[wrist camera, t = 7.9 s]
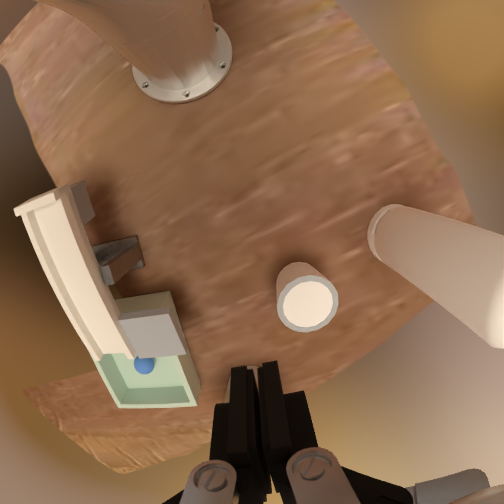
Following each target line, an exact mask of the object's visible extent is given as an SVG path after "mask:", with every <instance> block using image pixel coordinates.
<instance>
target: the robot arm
mask: <svg viewBox="0 0 504 504" xmlns="http://www.w3.org/2000/svg"><path fill="white" fill-rule="evenodd" d="M34 1H37V2H41V3H44V4H47V5H50V6H53V7H56V8H59V9H61V10H63V11H65V12H67V13H69V14H71V15H72V16H74V17H76V18H77V19H79V20H80V21H82V22H83V23H84V24H85V25H87V26H88V27H89V28H91V29H92V30H93V31H94V32H95V33H97V34H98V35H99V36H100V37H101V38H102V39H104V40H105V41H106V42H107V43H108V44H109V45H110V46H112V47H113V48H114V49H115V50H116V51H117V52H119V53H120V54H121V55H122V56H123V57H124V58H125V59H127V60H128V61H129V62H130V63H131V64H132V73H133V77H134V80H135V82H136V84H137V85H138V87H139V88H140V89H141V90H142V91H143V92H144V93H145V94H146V95H148V96H150V97H151V98H153V99H155V100H157V101H160V102H164V103H171V104H176V103H186V102H190V101H194V100H196V99H199V98H201V97H203V96H205V95H207V94H208V93H210V92H211V91H213V90H214V89H215V88H216V87H217V86H218V85H219V84H220V83H221V82H222V81H223V80H224V78H225V77H226V75H227V73H228V72H229V69H230V66H231V64H232V57H233V52H232V45H231V40H230V38H229V36H228V34H227V33H226V32H225V30H224V29H223V28H222V27H221V26H220V25H218V24H217V23H216V22H214V21H213V16H212V12H211V7H210V2H209V0H34ZM216 31H217V32H216ZM222 66H224V67H225V68H224V69H222V68H221V67H222ZM147 85H149V86H148V87H147V88H146V86H147ZM187 94H189V95H190V96H189V97H186V95H187ZM262 366H263V367H259V368H257V375H258V387H257V383H256V379H255V375H254V371H253V369H247V366H241V367H234V368H231V380H230V398H229V403H219V404H216V405H215V409H214V419H213V428H212V438H211V448H210V458H209V461H206V462H202V463H201V464H199V465H197V466H196V467H195V468H194V469H193V470H192V471H191V473H190V475H189V477H188V480H187V483H186V486H185V489H184V490H182V491H181V492H180V493H178V494H176V495H175V496H173V497H172V498H170V499H169V500H167V501H166V502H164V503H162V504H263V502H266V501H267V498H266V494H271V493H272V488H271V477H272V481H273V484H274V486H275V490H276V492H277V493H279V492H280V495H281V498H282V501H283V504H504V485H498V486H494V487H490V485H489V481H488V478H487V476H486V474H485V473H484V472H482V471H481V470H479V469H468V470H465V471H461V472H459V473H455V474H452V475H448V476H445V477H441V478H437V479H433V480H430V481H426V482H421V483H416V484H415V486H412V487H407V488H403V487H401V486H397V485H394V484H391V483H387V482H385V481H381V480H378V479H375V478H372V477H369V476H367V475H364V474H361V473H358V472H355V471H353V470H350V469H347V468H345V467H342V466H340V464H339V462H338V460H337V458H336V457H335V456H334V454H333V453H332V452H330V451H328V450H326V449H323V448H320V447H318V444H317V440H316V436H315V432H314V428H313V424H312V420H311V416H310V412H309V408H308V404H307V400H306V396H305V393H304V391H299V392H294V393H288V394H283V391H282V385H281V380H280V374H279V369H278V363H277V361H271V362H266V363H262ZM258 390H259V391H258ZM270 474H271V476H270Z"/></svg>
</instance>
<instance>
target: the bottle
mask: <svg viewBox="0 0 504 504" xmlns="http://www.w3.org/2000/svg"><path fill="white" fill-rule="evenodd" d="M381 218H382V219H381ZM379 221H380V222H379ZM376 228H377V229H376ZM375 231H376V232H375ZM367 241H368V245H369V248H370V250H371V252H372V253H373V255H374V256H375V257H376V258H378V259H379V260H380V261H382V262H383V263H385V264H386V265H388V266H389V267H390V268H392V269H393V270H394V271H396V272H397V273H399V274H400V275H401V276H403V277H404V278H405V279H407V280H408V281H409V282H411V283H412V284H414V285H415V286H416V287H418V288H419V289H420V290H422V291H423V292H424V293H426V294H427V295H428V296H430V297H431V298H432V299H433V300H435V301H436V302H437V303H439V304H440V305H441V306H442V307H444V308H445V309H446V310H448V311H449V312H450V313H451V314H453V315H454V316H455V317H457V318H458V319H459V320H460V321H461V322H463V323H464V324H465V325H466V326H468V327H469V328H470V329H471V330H472V331H474V332H475V333H476V334H477V335H478V336H480V337H481V338H482V339H483V340H484V341H486V342H487V343H488V344H489V345H490V346H491V347H495V348H504V236H503V235H500V234H497V233H494V232H491V231H488V230H485V229H482V228H479V227H476V226H473V225H470V224H467V223H464V222H460V221H457V220H454V219H451V218H447V217H444V216H440V215H437V214H433V213H430V212H426V211H423V210H419V209H415V208H411V207H406V206H404V205H400V204H389V205H387V206H384V207H382V208H381V209H380V210H379V211H377V212H376V213H375V215H374V216H373V218H372V219H371V221H370V224H369V227H368V231H367Z"/></svg>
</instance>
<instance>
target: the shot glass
mask: <svg viewBox="0 0 504 504" xmlns="http://www.w3.org/2000/svg"><path fill="white" fill-rule="evenodd" d="M276 296H277V310H278V316H279V318H280V319H281V321H282V322H283V323H284V325H285V326H287V327H289V328H290V329H292V330H294V331H299V332H310V331H315V330H318V329H320V328H321V327H323V326H325V325H326V324H328V323H329V321H330V320H331V319H332V318H333V316H334V315H335V313H336V310H337V307H338V304H339V303H338V293H337V291H336V289H335V288H334V286H333V284H332V283H331V282H330V281H329V280H328V279H326V278H325V277H324V276H323V275H322V274H321V273H320V272H318V271H317V270H316V269H315V268H314V267H312V266H311V265H309V264H308V263H304V262H294V263H290V264H289V265H287V266H285V267H284V268H283V269H282V270H281V272H280V273H279V274H278V277H277V281H276Z"/></svg>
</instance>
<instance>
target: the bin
mask: <svg viewBox="0 0 504 504" xmlns="http://www.w3.org/2000/svg"><path fill="white" fill-rule="evenodd" d="M115 302H116V304H117V306H118V308H119V310H120V312H121V313H129V312H136V311H143V310H150V309H157V308H164V307H171V309H172V311H173V314H174V316H175V319H176V321H177V324H178V326H179V328H180V331H181V333H182V335H183V338H184V340H185V337H184V334H183V331H182V328H181V324H180V321H179V318H178V315H177V312H176V309H175V305H174V302H173V299H172V295H171V292H170V291H165V292H159V293H153V294H147V295H140V296H134V297H128V298H121V299H115ZM185 342H186V340H185ZM186 344H187V343H186ZM89 353H90V352H89ZM90 355H91V354H90ZM137 356H138V355H137V354H136V355H135V358H136V357H137ZM91 357H92V355H91ZM135 358H134V359H128V358H127V357H126V355H125V353H112V354H103V356H102V359H101V361H95V360H94V358H93V357H92V359H93V361H94V363H95V365H96V367H97V369H98V371H99V373H100V375H101V377H102V379H103V381H104V383H105V385H106V386H107V388H108V390H109V392H110V394H111V395H112V397H113V399H114V401H115V403H116V404H117V406H118V408H169V407H188V406H197V405H198V399H199V394H200V388H201V382H200V380H199V377H198V374H197V371H196V369H195V366H194V363H193V360H192V357H191V354H190V352H189V349H188V346H187V354H184V355H175V356H165V357H154V358H152V359H153V361H154V369H153V371H152V372H151V373H149V374H140V373H139V372H137V371H136V369H135V367H134V360H135Z"/></svg>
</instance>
